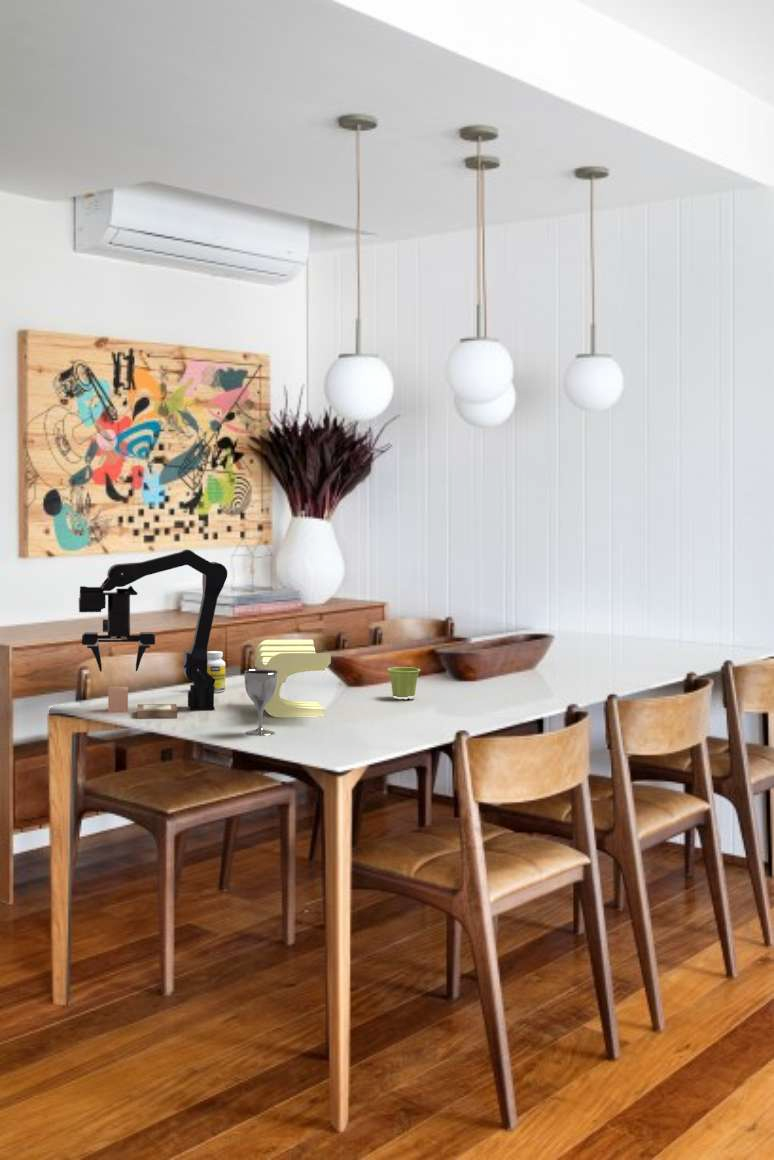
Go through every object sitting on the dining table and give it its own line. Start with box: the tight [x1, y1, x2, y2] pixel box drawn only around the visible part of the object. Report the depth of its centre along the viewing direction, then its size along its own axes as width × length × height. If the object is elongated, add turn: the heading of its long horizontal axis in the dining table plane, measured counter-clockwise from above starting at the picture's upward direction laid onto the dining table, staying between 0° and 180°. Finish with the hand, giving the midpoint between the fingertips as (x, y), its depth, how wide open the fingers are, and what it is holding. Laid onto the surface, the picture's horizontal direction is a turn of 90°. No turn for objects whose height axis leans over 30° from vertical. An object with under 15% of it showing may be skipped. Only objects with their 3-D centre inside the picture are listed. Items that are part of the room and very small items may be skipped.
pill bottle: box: [207, 650, 226, 694], centre depth 377 cm, size 6×6×12 cm
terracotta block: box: [107, 686, 129, 713], centre depth 341 cm, size 5×5×6 cm
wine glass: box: [244, 668, 278, 737], centre depth 313 cm, size 8×8×15 cm
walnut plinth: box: [136, 703, 178, 719], centre depth 336 cm, size 10×10×2 cm
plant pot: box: [387, 666, 421, 697], centre depth 371 cm, size 9×9×9 cm
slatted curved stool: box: [254, 639, 332, 718], centre depth 343 cm, size 30×16×18 cm, turn 12°
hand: (118, 671), depth 341 cm, fingers open, 9 cm apart
